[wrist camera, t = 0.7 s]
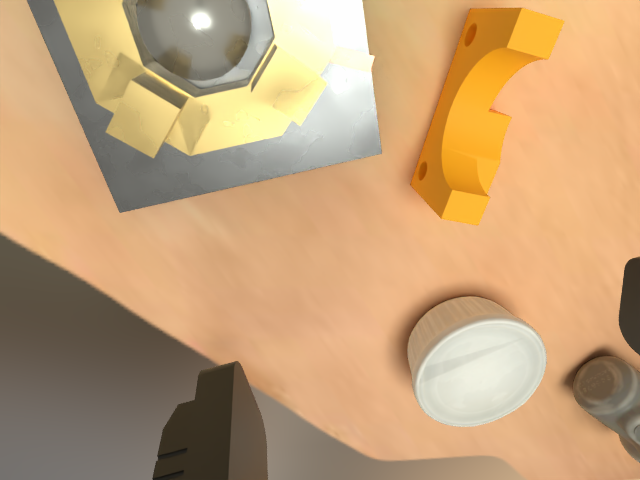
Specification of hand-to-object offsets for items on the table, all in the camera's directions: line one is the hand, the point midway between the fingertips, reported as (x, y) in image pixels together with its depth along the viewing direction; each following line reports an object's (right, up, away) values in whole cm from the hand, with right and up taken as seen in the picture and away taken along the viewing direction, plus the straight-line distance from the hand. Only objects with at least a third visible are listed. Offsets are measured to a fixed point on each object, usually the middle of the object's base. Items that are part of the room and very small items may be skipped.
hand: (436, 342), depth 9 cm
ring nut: (-9, +14, +16) cm, 23 cm away
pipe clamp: (+8, +11, +23) cm, 27 cm away
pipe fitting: (+28, -13, +38) cm, 48 cm away
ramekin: (+10, -7, +32) cm, 34 cm away
